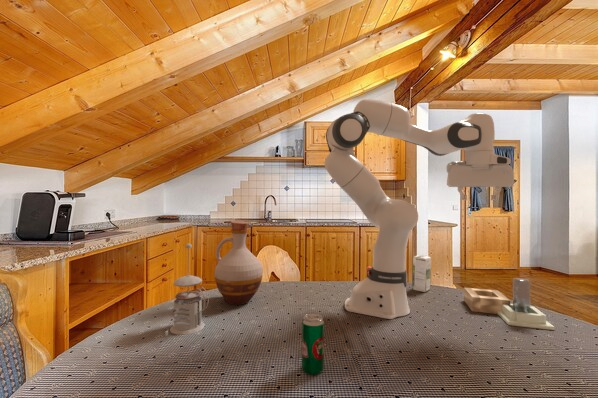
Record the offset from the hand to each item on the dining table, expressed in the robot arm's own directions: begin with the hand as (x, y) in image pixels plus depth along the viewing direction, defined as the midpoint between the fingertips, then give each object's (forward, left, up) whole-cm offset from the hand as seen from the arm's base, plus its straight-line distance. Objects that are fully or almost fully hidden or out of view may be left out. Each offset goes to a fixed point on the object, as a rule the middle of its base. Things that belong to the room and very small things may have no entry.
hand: (478, 200), depth 103 cm
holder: (+12, -4, -39) cm, 41 cm away
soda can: (-47, -52, -39) cm, 80 cm away
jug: (-85, -17, -39) cm, 95 cm away
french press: (-87, -42, -39) cm, 104 cm away
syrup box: (-16, +20, -39) cm, 47 cm away
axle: (+12, -4, -38) cm, 40 cm away
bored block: (+4, +5, -39) cm, 40 cm away
